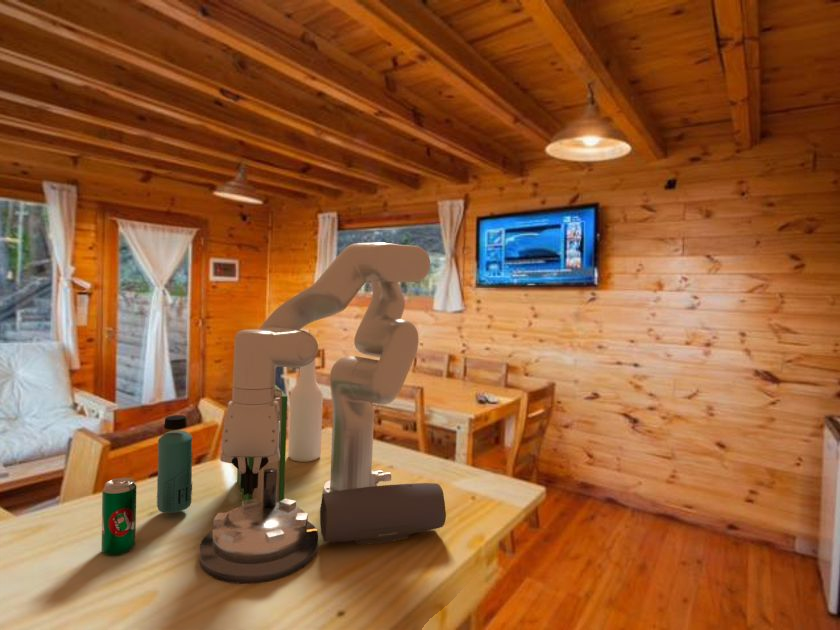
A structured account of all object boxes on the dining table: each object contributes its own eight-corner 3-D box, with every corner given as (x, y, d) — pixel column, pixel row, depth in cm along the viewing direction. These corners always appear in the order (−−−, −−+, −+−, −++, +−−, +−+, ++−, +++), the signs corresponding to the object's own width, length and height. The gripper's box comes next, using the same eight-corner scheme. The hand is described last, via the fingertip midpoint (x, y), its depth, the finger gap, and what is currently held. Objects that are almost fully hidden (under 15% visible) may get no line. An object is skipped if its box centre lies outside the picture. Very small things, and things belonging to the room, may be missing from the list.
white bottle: (324, 453, 140) (328, 348, 138) (315, 463, 131) (319, 352, 130) (294, 450, 140) (298, 347, 139) (283, 461, 132) (287, 350, 130)
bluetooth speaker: (429, 520, 102) (431, 473, 101) (445, 542, 93) (448, 491, 92) (318, 533, 94) (320, 482, 94) (325, 559, 86) (327, 503, 85)
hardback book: (283, 506, 105) (287, 396, 104) (247, 512, 101) (250, 398, 100) (268, 477, 120) (271, 380, 119) (237, 481, 117) (239, 382, 116)
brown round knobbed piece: (312, 517, 96) (314, 468, 95) (299, 562, 80) (301, 504, 79) (228, 517, 94) (229, 467, 94) (198, 563, 78) (200, 503, 78)
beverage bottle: (177, 522, 96) (179, 422, 95) (148, 518, 97) (149, 418, 96) (198, 508, 102) (201, 414, 101) (171, 504, 103) (173, 411, 102)
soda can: (111, 541, 88) (112, 476, 87) (140, 542, 88) (142, 476, 88) (95, 557, 83) (96, 487, 82) (126, 557, 83) (127, 488, 82)
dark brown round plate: (306, 517, 100) (307, 506, 100) (328, 569, 82) (329, 556, 82) (200, 532, 92) (200, 520, 92) (198, 594, 74) (198, 580, 74)
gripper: (295, 392, 97) (291, 483, 97) (216, 390, 94) (211, 484, 95) (293, 400, 89) (288, 499, 90) (206, 399, 87) (202, 501, 87)
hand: (249, 491), depth 92 cm, fingers closed
